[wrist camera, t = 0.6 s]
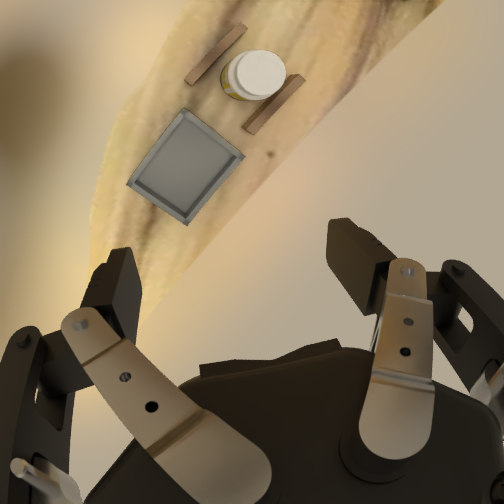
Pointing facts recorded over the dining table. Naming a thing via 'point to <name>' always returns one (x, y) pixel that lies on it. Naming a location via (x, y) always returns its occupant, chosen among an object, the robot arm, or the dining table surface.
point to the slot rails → (270, 104)
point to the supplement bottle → (253, 75)
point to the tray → (185, 167)
